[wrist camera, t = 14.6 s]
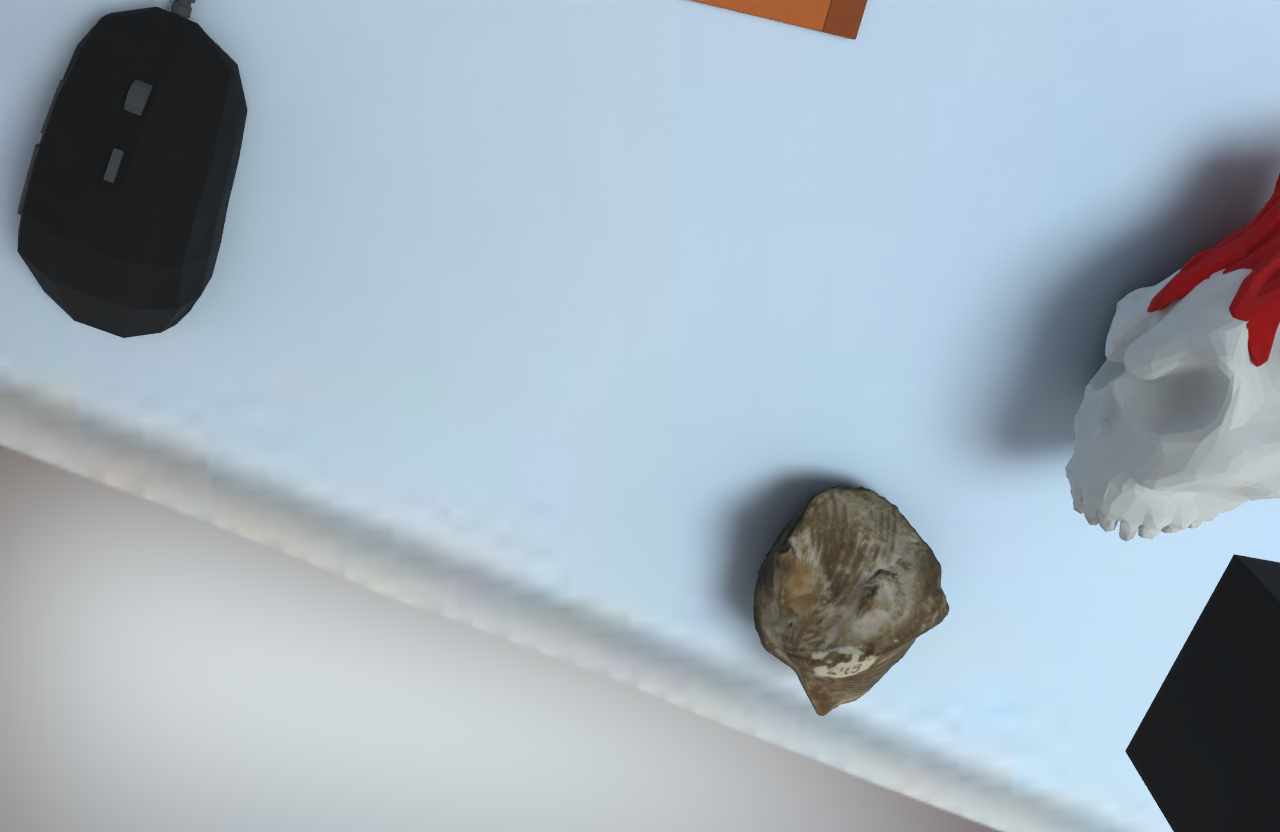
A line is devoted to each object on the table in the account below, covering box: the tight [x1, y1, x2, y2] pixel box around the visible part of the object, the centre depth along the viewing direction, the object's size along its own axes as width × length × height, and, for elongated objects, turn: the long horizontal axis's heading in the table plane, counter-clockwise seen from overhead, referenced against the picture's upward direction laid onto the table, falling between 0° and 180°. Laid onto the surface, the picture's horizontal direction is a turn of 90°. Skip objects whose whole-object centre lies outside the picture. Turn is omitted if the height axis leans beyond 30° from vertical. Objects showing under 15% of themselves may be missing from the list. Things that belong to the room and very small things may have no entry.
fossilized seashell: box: [754, 486, 949, 716], centre depth 47 cm, size 8×7×10 cm
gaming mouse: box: [18, 0, 247, 338], centre depth 37 cm, size 6×15×4 cm, turn 156°
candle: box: [1066, 174, 1280, 541], centre depth 40 cm, size 9×11×15 cm
